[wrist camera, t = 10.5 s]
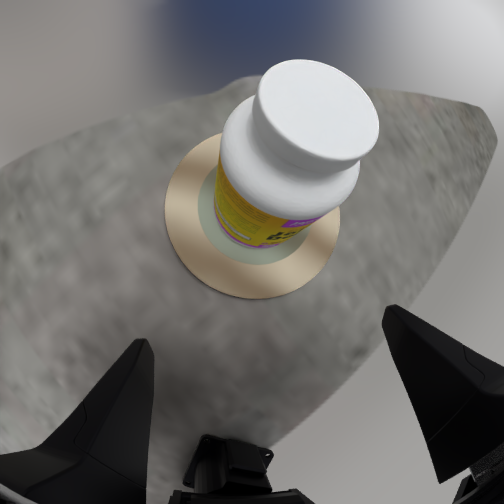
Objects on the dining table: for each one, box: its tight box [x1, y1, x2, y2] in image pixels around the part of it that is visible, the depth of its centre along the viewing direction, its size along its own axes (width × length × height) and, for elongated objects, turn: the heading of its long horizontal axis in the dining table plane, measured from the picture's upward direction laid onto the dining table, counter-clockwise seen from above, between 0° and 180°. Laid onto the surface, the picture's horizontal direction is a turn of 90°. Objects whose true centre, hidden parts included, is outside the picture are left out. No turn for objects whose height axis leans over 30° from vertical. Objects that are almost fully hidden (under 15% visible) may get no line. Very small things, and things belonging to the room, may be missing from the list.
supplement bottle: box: [214, 60, 379, 249], centre depth 15 cm, size 7×7×13 cm
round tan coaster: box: [165, 133, 340, 299], centre depth 22 cm, size 14×14×1 cm
